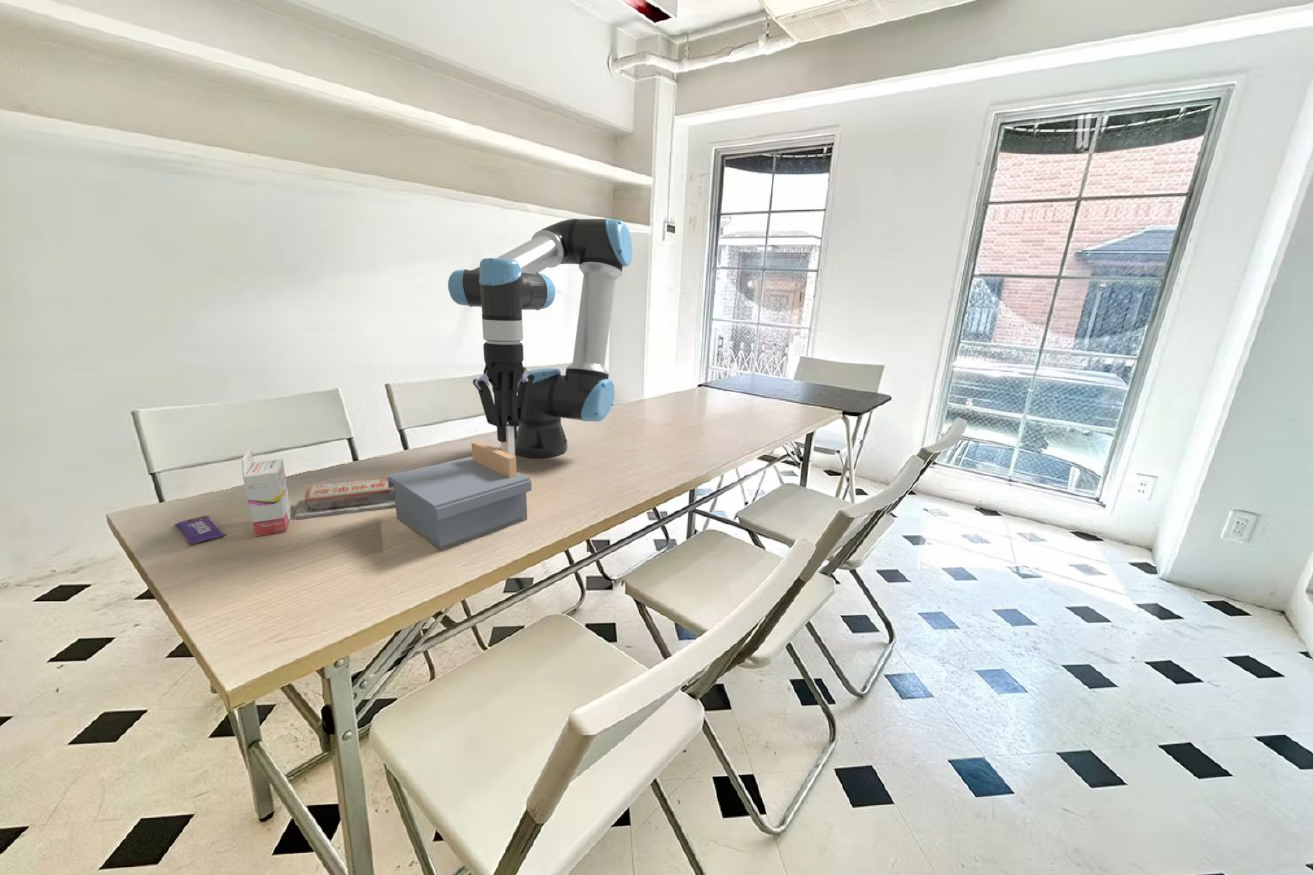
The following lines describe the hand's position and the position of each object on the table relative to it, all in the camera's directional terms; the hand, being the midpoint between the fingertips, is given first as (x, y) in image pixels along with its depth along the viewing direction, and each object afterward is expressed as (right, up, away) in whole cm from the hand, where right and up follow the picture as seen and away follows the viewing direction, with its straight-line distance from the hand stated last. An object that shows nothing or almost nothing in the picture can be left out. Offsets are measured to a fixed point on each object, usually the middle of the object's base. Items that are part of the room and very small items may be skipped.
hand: (508, 455), depth 105 cm
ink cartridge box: (-41, -13, -10) cm, 44 cm away
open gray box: (-8, -13, -5) cm, 15 cm away
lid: (-7, -6, -7) cm, 12 cm away
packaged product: (-33, -11, 0) cm, 35 cm away
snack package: (-52, -14, -13) cm, 56 cm away
